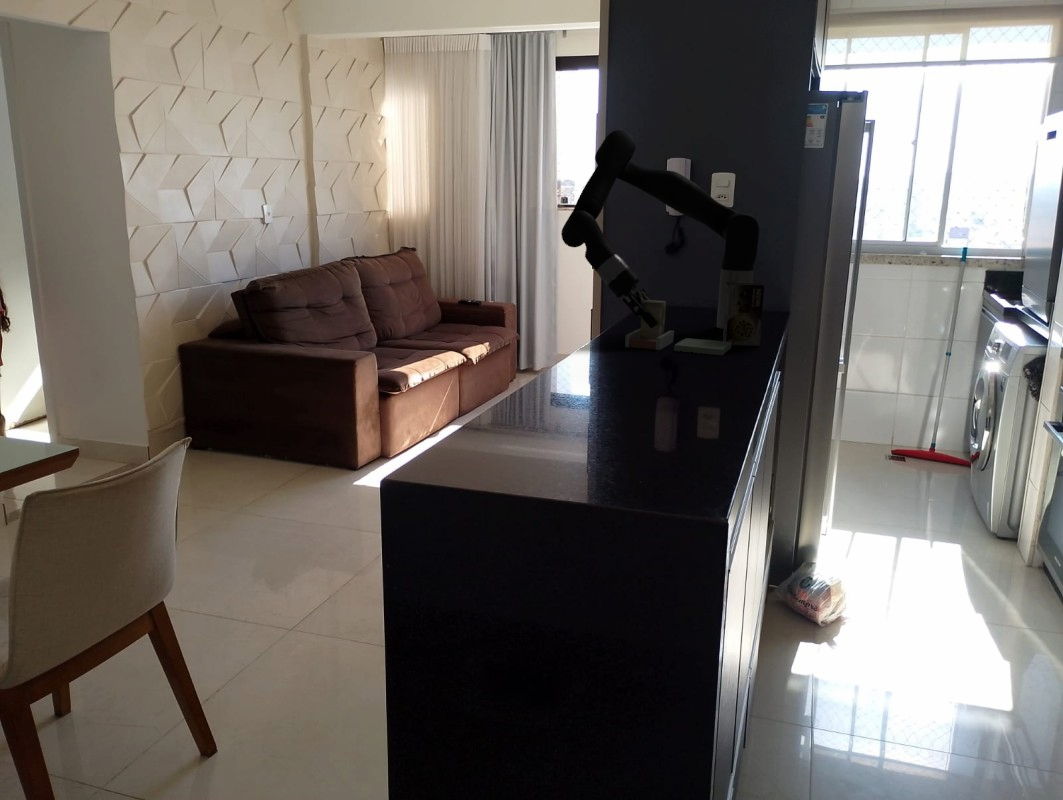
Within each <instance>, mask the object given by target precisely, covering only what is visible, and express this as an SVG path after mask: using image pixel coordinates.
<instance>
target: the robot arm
mask: <svg viewBox="0 0 1063 800" xmlns="http://www.w3.org/2000/svg"><path fill="white" fill-rule="evenodd" d="M633 137H634V136H632V135H631V134H630V133H629V132H627V131H625V130H621V129H616V130H613V131H611V132H610V133H608V134H607V135H606V137H605V138H604V140H603V141H602V143H601V144H600V146H599V147H598V149H597V150H596V153H595V155H594V156H595V157H594V160H595V163H596V165H597V166H596V168H595V169H594V171H593V173H592V175H591V176H590V177H589V178H588V180H587V182H586V184H585V186H584V187H583V188H582V191H581V193H580V195H579V197H578V199H577V201H576V203H575V206H574V208H573V210H572V212H571V213H570V215H569V216H568V218H567V220H566V222H565V223H564V225H563V227H562V229H561V240H562V241H563V243H564V245H566V246H568V247H569V248H570V247H571V248H578V247H581V246H582V245H585V253H584V257H585V260H586V261H587V262H588V263H589V265H590V266H591V267H592V268H593V270H595V272H596V273H597V275H598V276H599V278H600V279H601V280H602V281H603V282H604V284H605V285H606V287H608V288H609V289H610V291H611V293H612V294H614V295H615V297H616V298H617V299H621V298H622V302H623V303H624V304H625V305H626V306H627V307H628V308H629V310H631V313H633V314H634V315H635V316H636V317H637V318H638V317H639V318H640V319H641V318H643V319H644V321H645V322H646V323H647V324H648V325H649V327H650V328H653V327H654V326H655V325H657V323H658V322H657V321H656V320H655V318H654V317H653V316H652V315H651V314H650V312H648V310H647V308H646V303H645V301H646V300H654V299H653V298H652V297H651V295H650V294H649V293H648V291H647V290H646V289H645V288H641V289H640V288H639V287H638V286H637V285H638V284H639V283H640V277H639V276H638V275H637V274H636V273H635V271H633V269H631V267H630V266H629V265H628V264H627V262H626V261H625V260H624V259H623V258H622V257H621V256H620V255H618V253H617V252H616V250H614V249H613V248H612V247H611V245H610V244H609V243H608V242H607V240H606V237H605V235H604V232H603V231H602V229H601V228H600V225H599V223H598V222H597V220H596V219H597V218H599V216H600V215H601V212H602V210H603V208H604V206H605V205H606V203H607V200H608V198H609V196H610V193H611V191H612V188H613V186H614V185H615V182H616V180H617V179H618V180H620V181H622V182H625V183H627V184H629V185H631V186H633V187H635V188H637V189H639V190H641V191H642V192H644V193H646V194H648V195H649V196H651V197H653V198H654V199H657V201H660V202H661V203H663V205H664V204H665V205H666V207H667V206H668V207H669V208H671V209H673V210H674V211H676V212H678V213H679V214H681V215H683V216H685V217H688V218H690V219H692V220H694V221H697V222H699V223H702V224H703V225H705V226H707V228H709V229H710V230H712V231H713V232H715V234H717V235H719V236H720V237H721V238H722V239H724V240H725V246H724V254H723V258H722V259H721V264H720V277H719V278H720V279H719V288H718V289H719V292H718V302H717V315H716V328H718V329H721V330H724V317H725V303H726V289H727V282H753V278H754V267H755V263H756V259H757V254H758V248H759V247H758V246H759V240H760V239H759V236H760V226H759V223H758V220H757V219H756V217H754V216H753V215H751V214H749V213H743V212H740V211H739V212H738V211H737V210H734V209H732V208H731V207H728V206H726V205H724V204H722V203H720V202H719V201H717V200H715V198H713V197H712V196H711V195H710V194H709V193H707V192H706V191H705V190H704V189H703V188H702V187H701V186H699V185H698V184H696V183H695V182H694V181H692V180H691V179H689V178H687V177H686V176H684V175H682V174H681V173H679V172H676V171H673V170H668V169H656V168H649V167H645V166H642V165H640V164H638V163H635V162H634V161H632V158H633V156H634V155H635V153H636V141H635V139H634V138H633ZM647 312H648V313H647Z"/></svg>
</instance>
